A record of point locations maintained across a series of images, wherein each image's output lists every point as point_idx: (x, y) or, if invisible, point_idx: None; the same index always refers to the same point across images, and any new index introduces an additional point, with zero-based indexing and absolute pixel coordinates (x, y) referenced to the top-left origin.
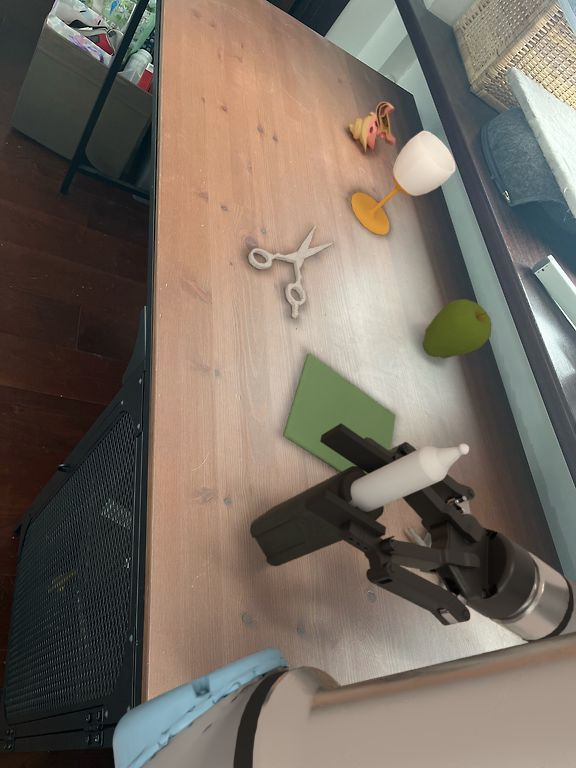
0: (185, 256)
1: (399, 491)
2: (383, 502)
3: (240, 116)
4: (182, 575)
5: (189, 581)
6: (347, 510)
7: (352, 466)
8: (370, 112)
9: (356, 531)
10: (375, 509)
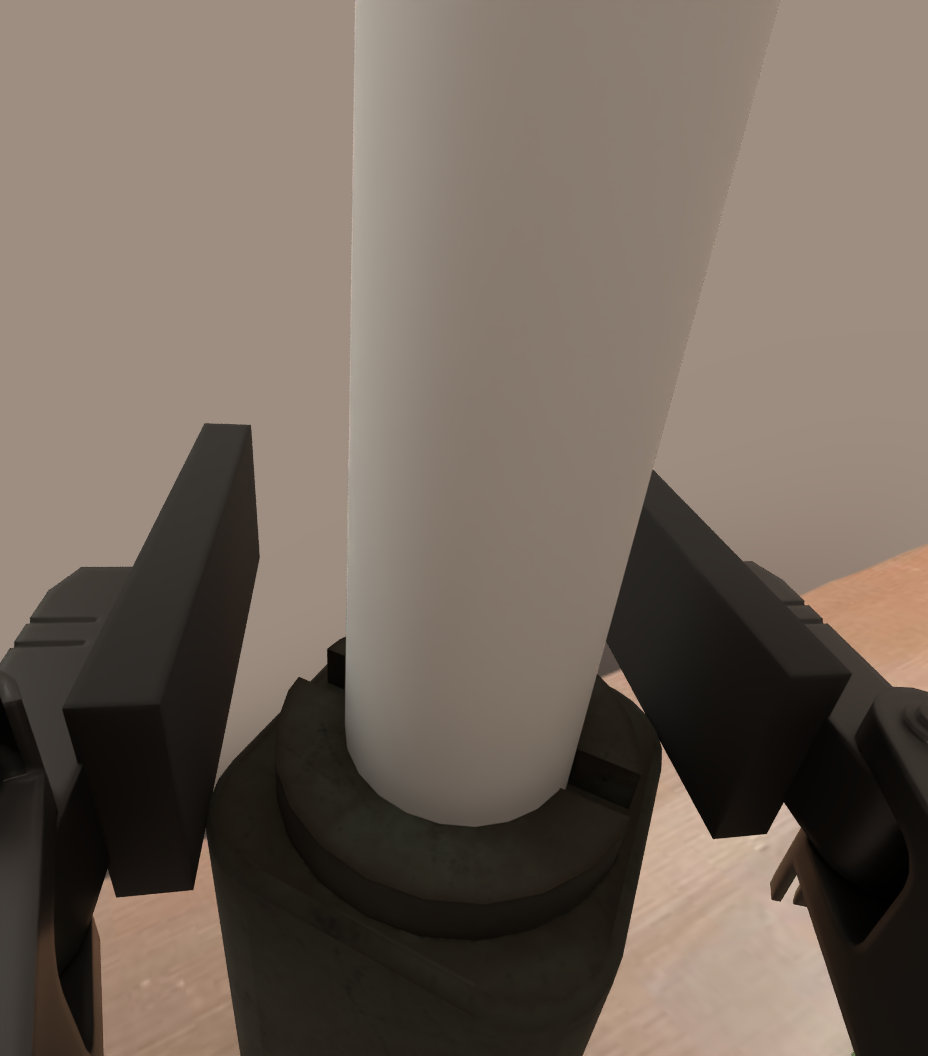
0: (845, 627)
1: (350, 333)
2: (353, 584)
3: None
4: (171, 935)
5: (158, 965)
6: (179, 484)
7: (611, 688)
8: None
9: (82, 599)
10: (431, 839)
